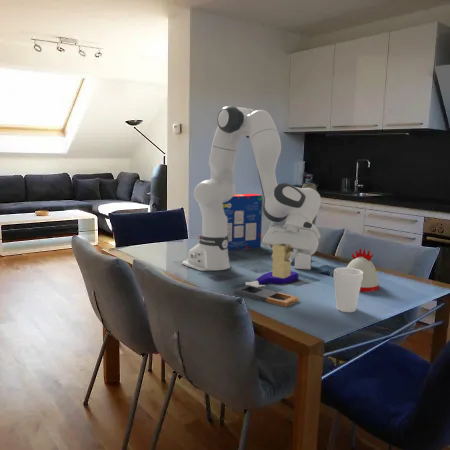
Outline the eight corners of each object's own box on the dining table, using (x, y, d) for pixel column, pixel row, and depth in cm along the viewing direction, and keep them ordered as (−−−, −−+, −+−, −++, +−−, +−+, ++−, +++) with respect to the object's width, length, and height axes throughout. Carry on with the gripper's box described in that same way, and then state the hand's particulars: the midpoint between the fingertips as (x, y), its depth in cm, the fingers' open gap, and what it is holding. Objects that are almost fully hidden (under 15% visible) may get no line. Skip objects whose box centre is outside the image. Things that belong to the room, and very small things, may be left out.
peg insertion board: (234, 293, 169) (234, 289, 169) (247, 288, 175) (247, 284, 175) (286, 307, 156) (286, 302, 155) (298, 301, 162) (298, 297, 162)
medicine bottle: (310, 269, 203) (312, 243, 201) (294, 268, 205) (295, 242, 203) (311, 265, 210) (312, 239, 208) (295, 264, 212) (296, 239, 210)
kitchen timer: (373, 294, 171) (375, 254, 169) (336, 287, 179) (339, 249, 176) (382, 284, 183) (385, 247, 180) (348, 279, 190) (350, 243, 188)
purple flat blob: (280, 267, 196) (239, 279, 180) (301, 273, 188) (259, 285, 172) (280, 274, 197) (239, 286, 180) (301, 280, 189) (259, 293, 172)
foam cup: (328, 304, 159) (330, 267, 157) (354, 303, 160) (356, 267, 158) (337, 314, 150) (339, 275, 148) (364, 313, 151) (367, 275, 148)
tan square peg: (272, 276, 160) (273, 244, 158) (279, 273, 163) (280, 242, 161) (283, 278, 157) (284, 246, 155) (290, 275, 161) (291, 244, 159)
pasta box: (252, 244, 254) (254, 193, 249) (260, 247, 247) (262, 195, 242) (206, 248, 242) (207, 195, 237) (213, 252, 235) (214, 197, 230)
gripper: (268, 219, 169) (252, 250, 163) (319, 225, 156) (303, 259, 150) (275, 229, 173) (259, 260, 167) (324, 236, 160) (310, 269, 155)
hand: (280, 259), depth 159 cm, fingers closed on tan square peg, 4 cm apart
